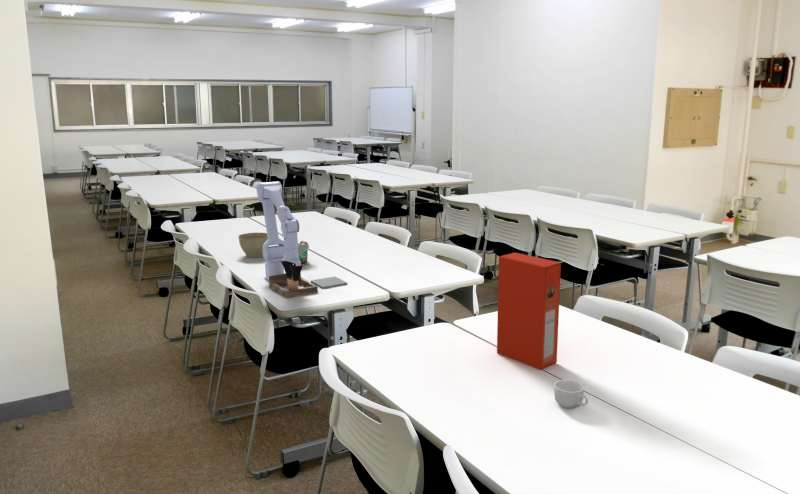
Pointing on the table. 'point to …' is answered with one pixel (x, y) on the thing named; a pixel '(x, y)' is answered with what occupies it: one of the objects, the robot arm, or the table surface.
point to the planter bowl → (253, 243)
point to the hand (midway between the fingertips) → (292, 278)
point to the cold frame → (281, 280)
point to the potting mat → (328, 282)
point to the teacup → (569, 393)
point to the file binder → (528, 309)
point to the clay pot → (292, 284)
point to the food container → (303, 252)
